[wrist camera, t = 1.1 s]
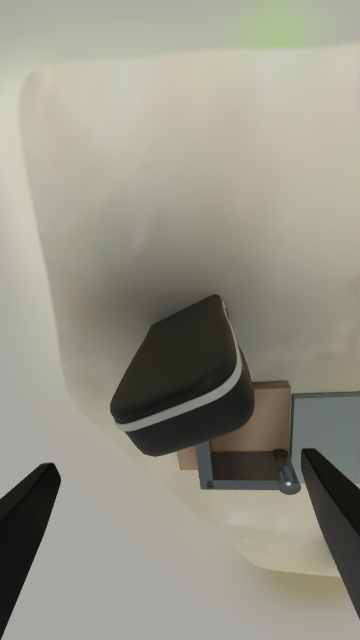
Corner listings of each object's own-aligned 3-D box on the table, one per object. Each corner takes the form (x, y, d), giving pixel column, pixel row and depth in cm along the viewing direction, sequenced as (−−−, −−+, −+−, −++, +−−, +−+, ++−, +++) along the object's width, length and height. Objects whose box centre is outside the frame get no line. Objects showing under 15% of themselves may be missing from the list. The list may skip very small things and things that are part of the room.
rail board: (287, 381, 22) (290, 388, 21) (284, 460, 26) (287, 469, 25) (168, 386, 24) (166, 393, 23) (180, 461, 27) (180, 469, 26)
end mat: (399, 390, 21) (404, 394, 21) (379, 477, 25) (382, 483, 25) (292, 394, 23) (294, 398, 22) (288, 477, 26) (290, 482, 26)
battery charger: (169, 359, 22) (137, 480, 12) (147, 326, 21) (92, 425, 11) (239, 328, 21) (276, 437, 10) (219, 290, 20) (238, 366, 9)
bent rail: (291, 392, 21) (305, 419, 18) (288, 461, 24) (300, 494, 21) (190, 396, 23) (187, 422, 20) (198, 462, 25) (198, 493, 23)
